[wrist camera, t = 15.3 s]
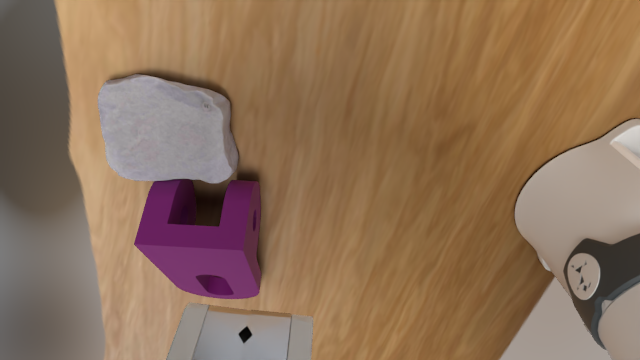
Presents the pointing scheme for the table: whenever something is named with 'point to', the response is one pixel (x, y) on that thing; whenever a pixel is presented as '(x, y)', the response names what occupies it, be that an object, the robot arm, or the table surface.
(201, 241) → the mounting bracket
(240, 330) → the robot arm
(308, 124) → the table surface
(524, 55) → the table surface
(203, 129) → the stone block
